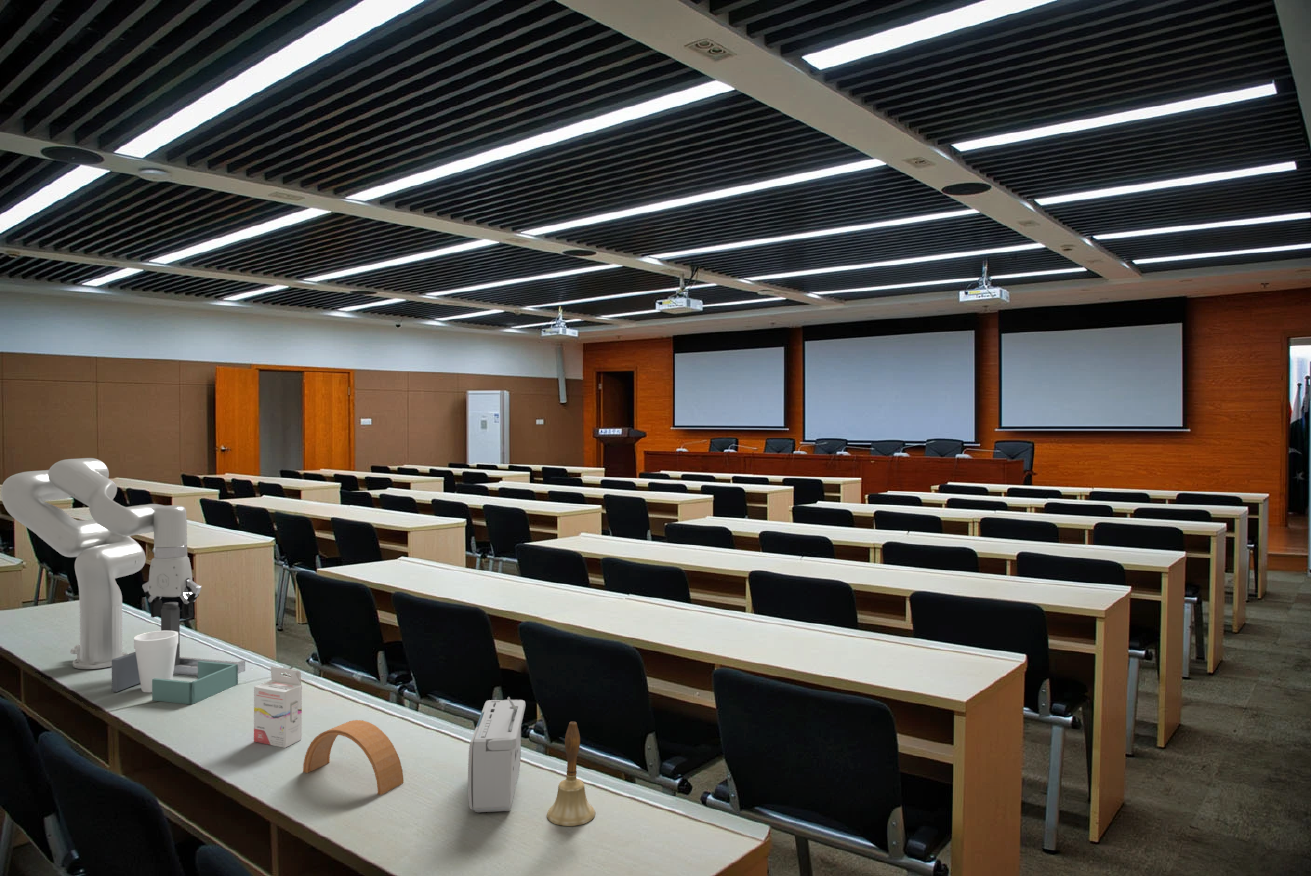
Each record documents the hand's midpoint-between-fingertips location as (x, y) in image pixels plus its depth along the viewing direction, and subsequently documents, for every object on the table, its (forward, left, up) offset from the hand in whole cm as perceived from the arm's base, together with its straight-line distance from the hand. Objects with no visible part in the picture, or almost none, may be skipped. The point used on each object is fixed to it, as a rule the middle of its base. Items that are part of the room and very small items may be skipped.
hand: (172, 617), depth 218 cm
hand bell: (+127, -50, -14) cm, 138 cm away
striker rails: (+5, 0, -14) cm, 15 cm away
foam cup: (+8, -14, -14) cm, 21 cm away
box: (+20, -14, -14) cm, 28 cm away
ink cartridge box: (+58, -35, -14) cm, 70 cm away
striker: (0, -9, -13) cm, 16 cm away
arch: (+83, -46, -14) cm, 96 cm away
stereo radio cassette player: (+111, -44, -14) cm, 120 cm away
